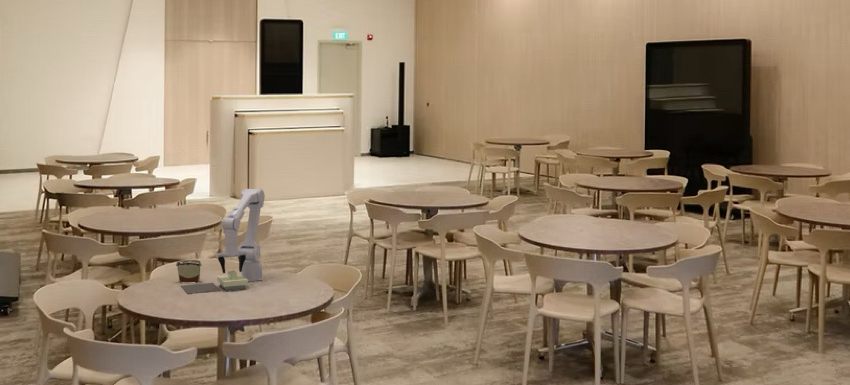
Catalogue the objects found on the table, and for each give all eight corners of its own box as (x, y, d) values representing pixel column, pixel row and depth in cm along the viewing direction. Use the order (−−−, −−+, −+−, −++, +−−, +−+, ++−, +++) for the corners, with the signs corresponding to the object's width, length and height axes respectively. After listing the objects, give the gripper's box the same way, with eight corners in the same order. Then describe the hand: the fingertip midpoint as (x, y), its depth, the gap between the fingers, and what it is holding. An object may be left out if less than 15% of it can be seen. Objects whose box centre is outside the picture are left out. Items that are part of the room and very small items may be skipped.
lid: (240, 278, 441) (240, 267, 441) (248, 284, 428) (247, 273, 427) (217, 280, 437) (217, 269, 436) (224, 286, 423) (223, 275, 423)
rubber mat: (212, 283, 442) (212, 282, 442) (221, 290, 425) (221, 290, 425) (180, 286, 436) (180, 285, 436) (187, 294, 419) (187, 293, 419)
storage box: (239, 283, 440) (238, 276, 440) (245, 289, 429) (245, 281, 428) (220, 285, 437) (220, 278, 436) (226, 291, 425) (226, 283, 425)
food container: (205, 280, 449) (205, 259, 448) (201, 282, 443) (201, 262, 442) (181, 279, 450) (180, 259, 449) (176, 282, 444) (175, 261, 443)
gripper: (217, 245, 424) (218, 275, 425) (249, 243, 429) (249, 272, 431) (214, 243, 430) (215, 272, 431) (245, 241, 436) (246, 269, 437)
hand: (232, 272), depth 432 cm, fingers open, 7 cm apart
